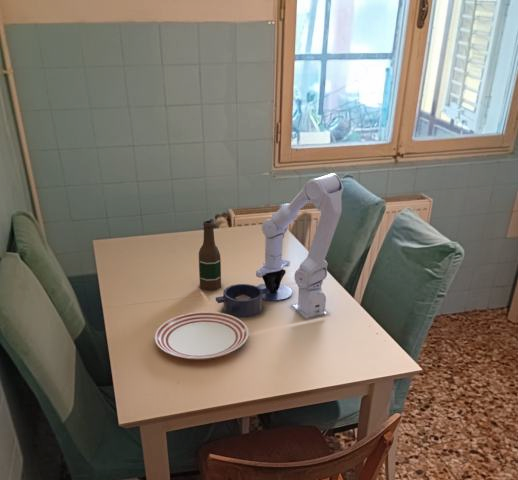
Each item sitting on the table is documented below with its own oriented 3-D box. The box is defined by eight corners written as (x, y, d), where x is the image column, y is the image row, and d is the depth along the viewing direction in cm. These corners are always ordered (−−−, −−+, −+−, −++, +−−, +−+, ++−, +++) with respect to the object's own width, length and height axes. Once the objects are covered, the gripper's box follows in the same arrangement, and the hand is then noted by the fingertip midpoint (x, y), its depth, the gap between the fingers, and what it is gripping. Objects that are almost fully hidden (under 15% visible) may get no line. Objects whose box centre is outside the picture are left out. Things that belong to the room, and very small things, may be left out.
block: (251, 308, 185) (251, 297, 183) (242, 312, 183) (242, 301, 181) (243, 304, 188) (243, 293, 186) (234, 308, 185) (234, 297, 183)
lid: (299, 299, 193) (299, 286, 191) (262, 306, 188) (263, 293, 186) (281, 283, 204) (281, 271, 201) (246, 289, 199) (246, 277, 196)
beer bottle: (218, 293, 196) (216, 226, 183) (196, 291, 197) (193, 224, 185) (224, 284, 202) (222, 219, 190) (203, 282, 204) (200, 217, 191)
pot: (276, 313, 184) (276, 295, 181) (224, 323, 178) (223, 305, 174) (260, 297, 194) (260, 280, 190) (210, 306, 187) (209, 289, 184)
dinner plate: (143, 362, 158) (141, 352, 156) (169, 316, 181) (168, 307, 179) (240, 371, 155) (240, 361, 153) (254, 323, 178) (254, 314, 176)
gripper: (279, 244, 195) (278, 280, 202) (249, 255, 186) (249, 293, 193) (295, 250, 191) (293, 287, 198) (265, 262, 182) (264, 299, 189)
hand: (272, 290), depth 195 cm, fingers closed on lid, 2 cm apart
